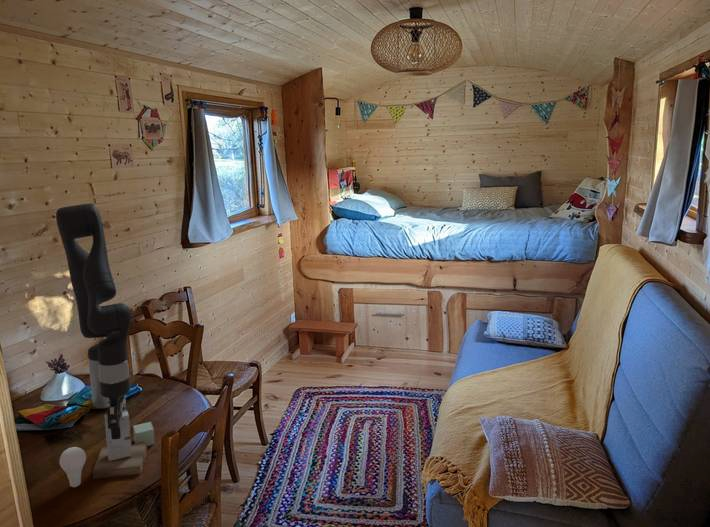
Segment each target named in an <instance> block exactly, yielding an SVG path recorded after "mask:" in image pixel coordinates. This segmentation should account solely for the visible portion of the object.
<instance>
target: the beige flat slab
mask: <svg viewBox="0 0 710 527" xmlns="http://www.w3.org/2000/svg"><path fill="white" fill-rule="evenodd" d="M146 452H148V446H147V442H145V443H135V442H134V443H131V454H132V455H131V456H129V457H125V458H120V459H116V460H111V461H109V459H108V454H107V445H105V446H102V448H101V449H100V452H99V455H98V457H97V460H96V462H95V464H94V466H93V469H92V478H93V480H94V479H95V480H96V479H105V478H114V477H124V475H125V476H133V475H134V474H135V475H141V474H142V470H143V467H144V464H143V463H145V460H144V459H146V456H147V453H146ZM142 466H143V467H142Z"/></svg>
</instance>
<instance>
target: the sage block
mask: <svg viewBox="0 0 710 527" xmlns="http://www.w3.org/2000/svg"><path fill="white" fill-rule="evenodd" d="M132 429H133V430H132V431H133V441H134V444H135V443H145V442H147V447H150V446H154V445H155V429H154V426H153V424H152V422H151V421H147V422H143V423H140V424H135V425H133V426H132ZM153 444H154V445H153Z"/></svg>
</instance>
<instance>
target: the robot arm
mask: <svg viewBox="0 0 710 527" xmlns="http://www.w3.org/2000/svg"><path fill="white" fill-rule="evenodd" d="M55 218H56V224H57V228H58V231H59V235H60V239H61V242H62V246H63V249H64V252H65V255H66V256H65V257H66V261H67V266H68V272H69V278H70V281H71V285H72V290H73V293H74V297H75V301H76V307H77V314H78V322H79V329H80V332H81V334H82V336H83V337H84V338H85V339H96V338H98V339H99V338H102V340H100V341H99V342H98V343H97V344H94V345H92V346H90V347H89V348H88V350H87V359H88V361H87V362H88V370H89V383H90V390H91V402H92V406H93V407H94V408H96V409H106V414H107V418H108V429H111V437H112V439H113V440H114V439H120V437H121V432H120V418H121V417H122V411H125V410H126V404H127V399H126V395H127V394H129V392H130V391H131V379H130V378H131V377H130V376H131V375H130V364H129V361H128V353H127V350H128V349H127V342H128V336H129V330H130V327H131V323H132V312H131V309H130V308H129V306H128V305H127V304H125V303H121V302H119V303H113V304H108V305H101V304H103V303H106V302H109V301H110V300H112V299H114V298H115V297H116V295H117V289H116V285H115V282H114V277H113V275H112V272H111V269H110V264H109V259H108V250H107V243H106V238H105V232H104V226H103V222H102V221H103V220H102V217H101V214H100V211H99V209H98V207H97V206H96V205H95V204H94V203H82V204H76V205H69V206H63V207H60V208H58V209H57V210H56V213H55ZM87 237H92V245H91V249H90V251H89V252H88V251H86V250H85V249H84V248H83V247H82V246H80V244H79V243H78V241H77V240H76V239H81V238H87ZM103 338H104V339H103ZM118 413H119V414H118ZM112 420H116V422H113V423H112Z"/></svg>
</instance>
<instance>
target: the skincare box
mask: <svg viewBox="0 0 710 527" xmlns="http://www.w3.org/2000/svg"><path fill="white" fill-rule="evenodd" d="M118 414H119V413H118ZM113 422H116V420H112V423H113ZM104 426H105V429H104V430H105V440H106V446H107V454H108V459H109V461H111V460H116V459H120V458H125V457H129V456H131V455H132V454H131V444H132V441H131V428H130V416H129V412H128V410H127V409H125V411H122V417H121V418H120V432H121V437H120V439H114V440H113V439H112V437H111V429H108V418H107V413H106V414H104Z"/></svg>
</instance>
